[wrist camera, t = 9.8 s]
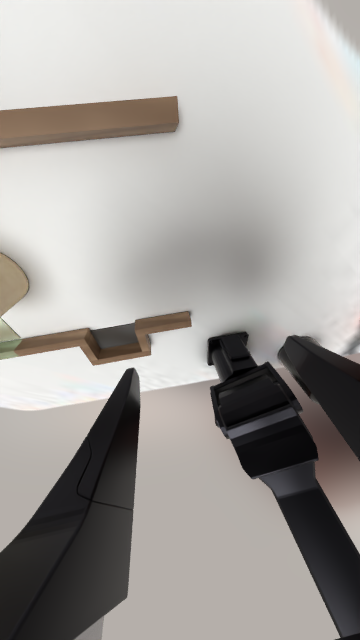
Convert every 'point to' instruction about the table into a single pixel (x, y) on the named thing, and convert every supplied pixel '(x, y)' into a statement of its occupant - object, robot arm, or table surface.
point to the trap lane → (77, 126)
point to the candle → (11, 284)
